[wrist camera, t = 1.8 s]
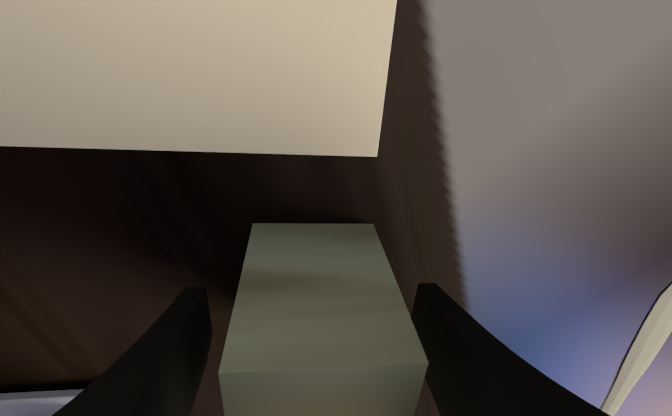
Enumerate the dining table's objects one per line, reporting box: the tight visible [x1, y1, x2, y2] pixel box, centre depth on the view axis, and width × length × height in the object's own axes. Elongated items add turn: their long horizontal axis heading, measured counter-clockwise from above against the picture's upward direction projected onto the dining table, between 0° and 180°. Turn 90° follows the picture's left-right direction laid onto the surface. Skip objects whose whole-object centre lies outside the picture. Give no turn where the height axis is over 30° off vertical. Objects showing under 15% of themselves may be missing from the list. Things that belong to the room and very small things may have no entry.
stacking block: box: [218, 223, 429, 416], centre depth 11 cm, size 4×4×6 cm
